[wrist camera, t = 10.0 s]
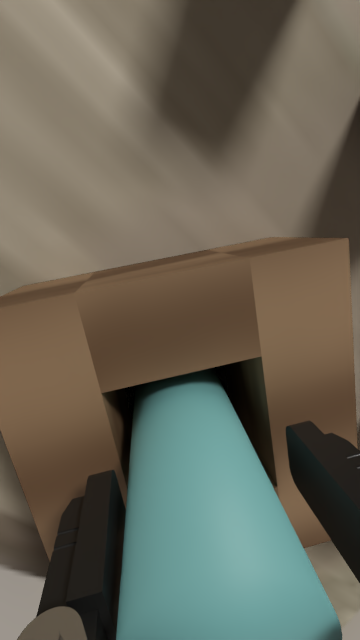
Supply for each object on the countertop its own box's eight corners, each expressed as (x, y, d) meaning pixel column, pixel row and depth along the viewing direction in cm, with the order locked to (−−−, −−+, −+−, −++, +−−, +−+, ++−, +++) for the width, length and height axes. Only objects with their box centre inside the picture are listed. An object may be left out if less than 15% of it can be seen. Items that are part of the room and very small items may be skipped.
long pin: (128, 348, 17) (87, 606, 5) (206, 332, 17) (336, 547, 5) (144, 417, 18) (141, 762, 6) (218, 402, 18) (347, 708, 6)
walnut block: (23, 285, 15) (-43, 316, 9) (271, 237, 16) (348, 238, 11) (89, 497, 18) (70, 615, 13) (293, 444, 20) (361, 531, 14)
